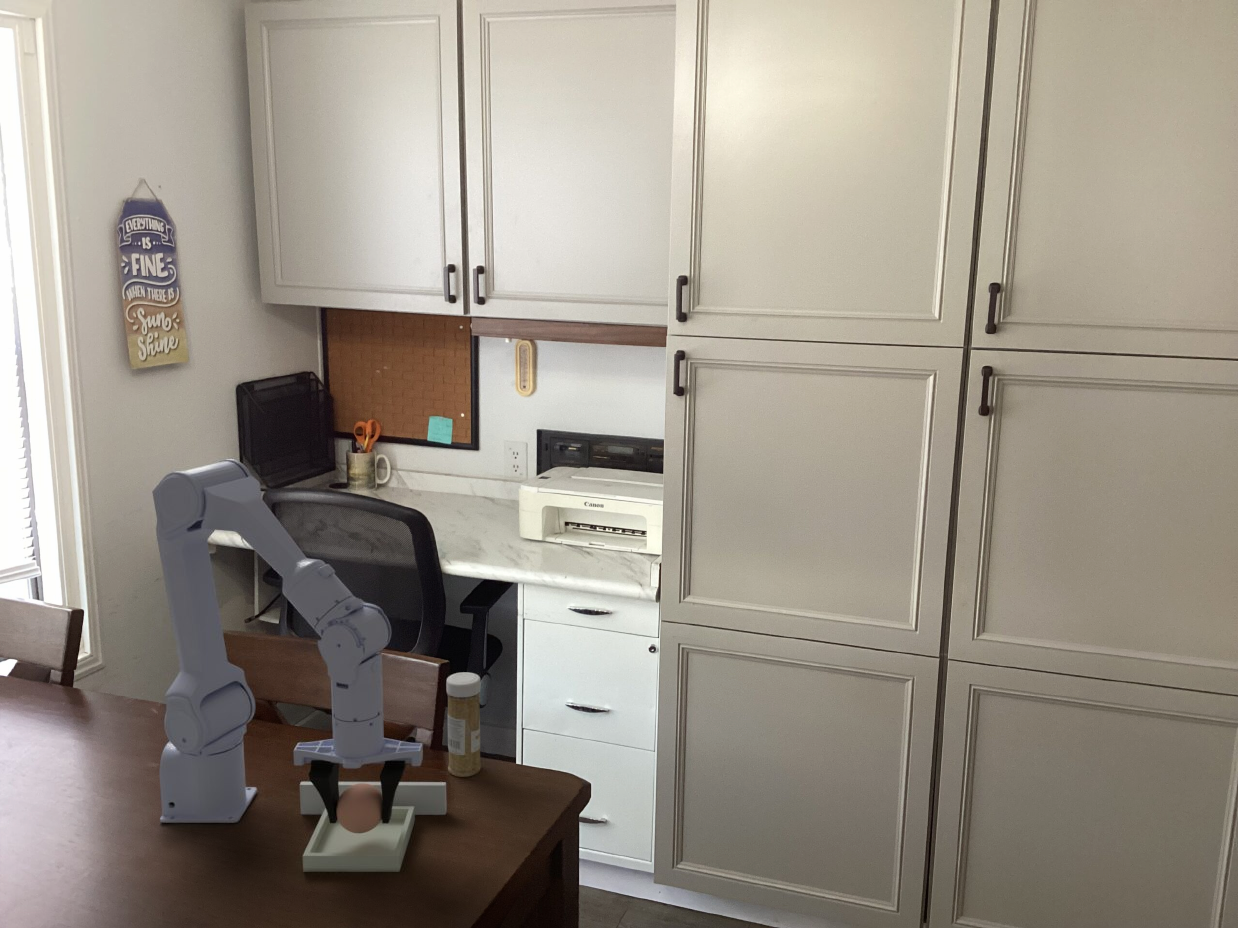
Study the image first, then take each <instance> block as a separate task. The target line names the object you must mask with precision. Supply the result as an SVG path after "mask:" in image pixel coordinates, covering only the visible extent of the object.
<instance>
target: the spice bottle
mask: <svg viewBox="0 0 1238 928" xmlns="http://www.w3.org/2000/svg"><path fill="white" fill-rule="evenodd" d="M481 683H482V682H481V677H480V675H478V674H477V673H474V672H468V671H467V672H464V671H463V672H456V673H453V674H450V675H448V677H447V678H446V683H445V684H446V685H445V686H446V689H445V690H446V694H447V748H448V766H447V770H448V772H449V773H450V774H452V775H453V776H455V777H461V778H465V777H471V776H474V775H476V774H478V773H479V772H480V771H481V768H482V765H481V714H480V693H481V691H482V689H481V687H482V686H481V685H482V684H481Z"/></svg>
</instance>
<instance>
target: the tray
mask: <svg viewBox="0 0 1238 928" xmlns="http://www.w3.org/2000/svg"><path fill="white" fill-rule="evenodd" d="M415 816H416V815H415V806H392V815H391V818H390V821H389V823H388V824H383V823H382V820H381V821H380V823H379V824H378V825H377V826H376V827H375V828H374V829H372V830H370V831H368V832H365V833H352V832H350V831H347V830H346V829H345V828H343V827H342V826H341V824H340V823H339V821H338V819H337V822H336V823H330V821H329V817H328V813H327V810H326V808H325V810H324V812H323V814H321V816H320V818H319V820H318V823H317V825H316V827H315V829H314V831H313V833H312V835H311V837H310V840H309V841H308V844H307V846H306V848H305V850H304V852H303V854H302V871H303V872H304V873H309V872H311V873H312V872H313V873H315V872H316V873H320V872H321V873H328V872H329V873H333V872H335V873H339V872H340V873H364V872H365V873H381V872H382V873H387V872H388V873H400V870H401V867H402V865H403V861H404V857H405V855H406V851H407V847H408V844H409V841H410V838H411V834H412V831H413V828H414V825H415V821H416V817H415Z"/></svg>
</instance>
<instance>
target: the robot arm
mask: <svg viewBox="0 0 1238 928" xmlns="http://www.w3.org/2000/svg"><path fill="white" fill-rule="evenodd" d="M261 493H262V491H261V483H260V481H259V480H257V478H255V476H253V475H252V474H251V472H250V470H249V469H248V468H247V467H246V465H244V464H243V463H242V462H241V461H239V460H238V459H232V458H228V459H223V460H220V461H219V462H215V463H211V464H207V465H203V466H202V465H201V466H199V467H198V466H197V467H194V468H190V469H186V470H181V471H180V470H177V471H171V472H168V473H167V474H166V475H165V476H164V477H163V478H161V480H160V481H159V482H158V484H157V485H156V486H155V487H154V489H153V490H152V493H151V494H152V498H153V502H154V503H153V504H154V509H155V516H156V525H155V526H156V527H155V531H156V538H157V539H156V540H157V541H156V542H157V545H158V551H159V558H160V561H161V562H160V563H161V568H162V574H163V580H164V586H165V591H166V596H167V597H166V598H167V603H168V608H169V613H170V620H171V624H172V631H173V638H174V642H175V647H176V654H177V659H178V665H179V673H178V674H177V676H176V678H175V679H174V680H173V682H172V684H171V686H170V687H169V688H168V689H167V692H166V693H165V696H164V697H165V699H164V700H165V704H166V706H165V707H166V711H165V714H164V715H165V716H164V720H163V724H164V725H163V726H164V731H165V735H166V736H167V739H168V740H169V741H168V742H167V743H166V744H165V746H164V748H163V750H162V754H161V758H160V762H159V763H160V764H159V785H160V798H161V799H160V801H161V816H160V818H159V822H160V823H165V824H166V823H168V824H169V823H177V824H178V823H179V824H180V823H187V824H188V823H193V824H194V823H197V824H198V823H199V824H200V823H201V824H202V823H205V824H206V823H208V824H210V823H211V824H213V823H214V824H215V823H218V824H220V823H221V824H223V823H224V824H226V823H227V824H229V823H230V824H231V823H232V824H235V823H238V822H239V821H240V820H241V818H242V816H243V814H244V813H245V812H246V811H247V808H248V807H249V805H250V803H251V802H252V800H253V798H254V797H255V795H256V794H257V792H258V789H257V787H255V786H252V787H251V786H247V785H246V769H245V748H244V746H245V745H244V735H245V734H246V733H247V731H248V730H247V724H248V723H249V722H251V721H252V719H253V717H254V715H255V713H256V699H255V697H254V695H253V694H254V693H252V691H251V689H250V687H249V685H248V683H247V681H246V675H245V670H244V669H242V667H241V668H240V667H239V666H237V665H234V664H232V663H230V662H229V661H228V656H227V651H226V650H227V649H226V645H225V639H224V631H223V626H222V620H221V614H220V609H219V608H220V607H219V602H218V601H219V600H218V595H217V591H216V584H215V579H214V572H213V565H212V561H211V555H210V548H209V544H208V540H209V538H210V537H211V536H212V534H214V532H215V531H226V532H227V531H228V532H235V533H236V534H237V535H238V536H240V538H242V539H243V541H245V542H246V543H247V544H248V545H249V546H250V547H251V548H252V549H253V550H254V551H255V552H256V553H257V555H259V556H260V557H261V558H262V559H263V560H264V561H265V562H266V563H267V564H268V565H269V566H270V567H272V569H273V570H274V571H275V572H276V573H277V574H279V576H281V578H282V588H281V590H282V594H283V596H284V597H285V598H286V599H287V601H289V602H290V604H291V605H292V606H293V607H294V609H296V610H297V612H298V613H299V614H300V616H302V618H304V619H305V621H306V622H307V623H308V624H309V625H310V626H311V627H312V628H313V630H314V631H315V633H316V634H318V636H319V637H320V639H318V640H317V648H318V651H319V653H320V654H321V655H320V656H321V657H322V658H323V660H324V662H325V663H326V665H327V676H328V677H329V679H330V681H331V682H330V685H331V686H330V687H331V715H332V716H331V717H332V718H331V721H332V723H331V725H332V738H330V739H323V740H316V741H309V742H298V743H297V744H296V746H295V747H294V749H293V765H294V766H304V765H305V764H308V763H309V764H310V770H309V772H308V779H309V782H311V783H312V784H313V785H314V786H315V788H316V789H317V791H318V792H319V794H320V796H321V798H322V800H323V802H324V805H325V807H326V810H327V813H328V817H329V821H330V823H336V822H337V815H336V806H337V802H338V799H339V787H338V782H340V780H339V778H340V777H339V775H340V773H339V772H340V765H342V768H343V769H359V768H361V767H362V765H367V764H384V765H383V767H382V769H381V772H380V774H379V780H380V781H379V782H381V788H382V799H383V803H382V823H383V824H388V823H389V821H390V818H391V815H392V806H393V800H394V796H395V792H396V789H397V786H398V784H399V782H401V780H402V778H403V775H404V773H405V770H406V767H407V764H410V765H411V766H412V767H421V765H422V762H423V759H424V756H423V755H424V751H423V750H424V748H423V747H424V745H423V743H422V742H421V743H419V742H408V741H403V740H397V739H393V738H386V737H384V734H385V733H384V732H385V731H384V695H383V694H384V691H383V655H382V653H383V652H381V651H382V650H384V649H385V648H386V647H387V646H388V645H389V643H390V640H391V638H392V626H391V623H390V621H389V618H388V616H387V615H386V614H385V613H384V610H383V609H382V608H381V607H380V606H378V605H376V604H374V603H370V602H366V601H364V600H363V599H362V598H359V597H356V596H355V595H354V594H353V593H352V592H351V591H350V590H349V588H348V587H347V586H346V585H345V584H344V583H343V582H342V580H341V579H339V577H338V576H337V575H336V570H335V569H334V568H333V567H332V566H331V565H330V564H329V563H327V564H326V563H325V562H324V561H323V560H321V559H316V558H309V557H306V555H305V554H304V552H303V551H302V550H301V548H300V547H299V546H298V545H297V543H296V542H295V541H294V539H293V538H292V537H291V536H290V534H289V532H287V530H286V528H285V527H283V525H282V523H281V522H280V521H279V519H277V517H276V516H275V514H274V513H273V512H272V510H271V509H270V508H269V507H268V505H267V504H266V502H265V501H264V500H263V498H262V494H261Z"/></svg>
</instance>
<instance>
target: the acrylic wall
mask: <svg viewBox="0 0 1238 928" xmlns="http://www.w3.org/2000/svg"><path fill="white" fill-rule="evenodd" d="M299 783H300V784H299V803H300V807H299V808H300V815H322V814H323V812H324V810H325V808H326V807H325V805H324V802H323V800H322V798H321V796H320V794H319V792H318V791H317V789H316V788H315V786H314V785H313V784H312V783H311V781H300V782H299ZM360 783H365V784H370V785H372V786H374V787H376V788H377V789H378V790H379V791H380V792H381V794H382V788H381V781H338V787H339V797H340V796H341V794H342V793H343V792H344V791H345V790H346V789H347V788H349V787H350V786H352V785H355V784H360ZM393 806H415V816H417V815H419V816H420V815H421V816H424V815H427V816H428V815H433V816H438V815H439V816H441V815H442V816H444V815H445V816H446V814H447V782H443V781H440V782H439V781H438V782H437V781H436V782H435V781H434V782H433V781H420V782H419V781H400V782H399V784H398V786H397V789H396V792H395V796H394V800H393Z"/></svg>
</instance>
